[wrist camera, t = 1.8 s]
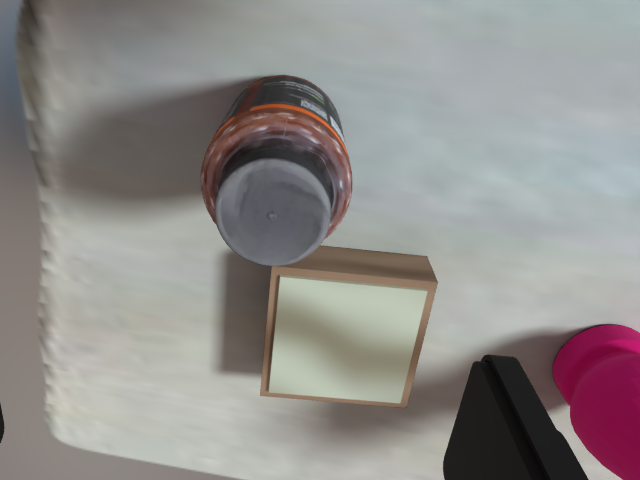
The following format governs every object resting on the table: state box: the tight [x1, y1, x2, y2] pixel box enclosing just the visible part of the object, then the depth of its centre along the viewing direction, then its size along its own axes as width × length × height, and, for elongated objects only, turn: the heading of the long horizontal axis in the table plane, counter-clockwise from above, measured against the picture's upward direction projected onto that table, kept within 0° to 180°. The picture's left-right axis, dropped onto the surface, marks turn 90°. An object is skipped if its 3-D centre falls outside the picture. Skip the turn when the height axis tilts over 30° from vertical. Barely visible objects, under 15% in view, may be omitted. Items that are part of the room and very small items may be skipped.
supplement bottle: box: [201, 75, 352, 266], centre depth 23 cm, size 6×6×11 cm
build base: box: [260, 246, 438, 408], centre depth 31 cm, size 9×9×3 cm
